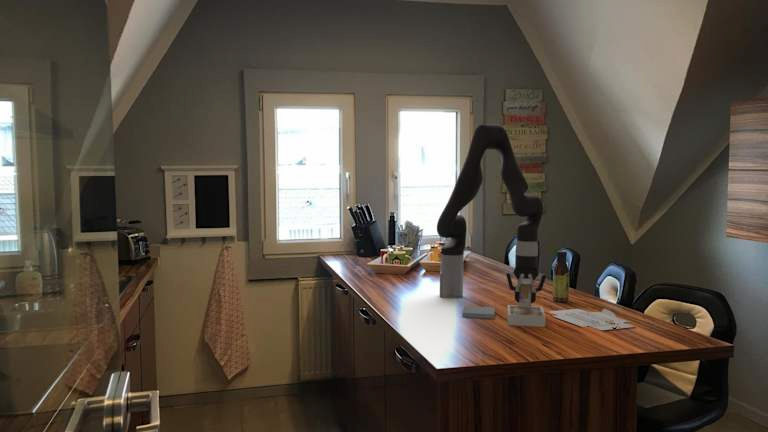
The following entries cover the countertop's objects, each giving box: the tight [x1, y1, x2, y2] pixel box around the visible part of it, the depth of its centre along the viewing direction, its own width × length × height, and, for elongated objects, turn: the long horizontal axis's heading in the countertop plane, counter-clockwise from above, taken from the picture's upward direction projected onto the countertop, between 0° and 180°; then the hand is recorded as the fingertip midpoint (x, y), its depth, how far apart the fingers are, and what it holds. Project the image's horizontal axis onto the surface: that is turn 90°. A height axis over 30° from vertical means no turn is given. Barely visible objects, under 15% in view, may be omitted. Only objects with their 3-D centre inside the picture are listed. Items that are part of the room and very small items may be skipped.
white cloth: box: [548, 308, 635, 331], centre depth 209 cm, size 20×28×4 cm
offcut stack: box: [513, 308, 538, 316], centre depth 203 cm, size 9×5×5 cm, turn 79°
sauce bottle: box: [552, 250, 570, 303], centre depth 239 cm, size 7×6×20 cm
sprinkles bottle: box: [517, 278, 532, 309], centre depth 210 cm, size 5×5×14 cm
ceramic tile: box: [462, 305, 496, 319], centre depth 216 cm, size 11×11×2 cm
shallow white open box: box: [506, 304, 547, 328], centre depth 207 cm, size 12×15×4 cm
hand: (525, 302), depth 210 cm, fingers closed on sprinkles bottle, 4 cm apart
